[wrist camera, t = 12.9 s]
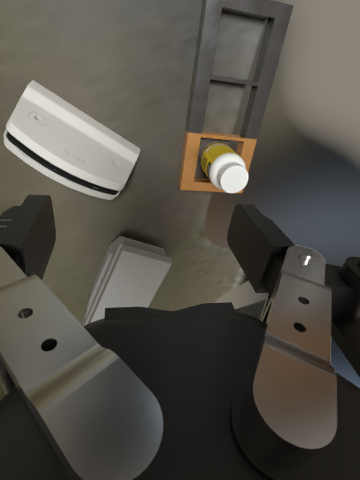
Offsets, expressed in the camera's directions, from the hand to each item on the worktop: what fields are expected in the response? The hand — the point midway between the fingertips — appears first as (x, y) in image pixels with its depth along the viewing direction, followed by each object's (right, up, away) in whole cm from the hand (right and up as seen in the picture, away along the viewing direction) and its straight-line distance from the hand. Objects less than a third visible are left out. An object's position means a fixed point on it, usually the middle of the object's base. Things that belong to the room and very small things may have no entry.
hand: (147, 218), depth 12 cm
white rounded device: (-13, +14, +28) cm, 34 cm away
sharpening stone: (-11, -7, +42) cm, 44 cm away
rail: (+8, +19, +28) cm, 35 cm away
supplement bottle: (+7, +13, +33) cm, 36 cm away
